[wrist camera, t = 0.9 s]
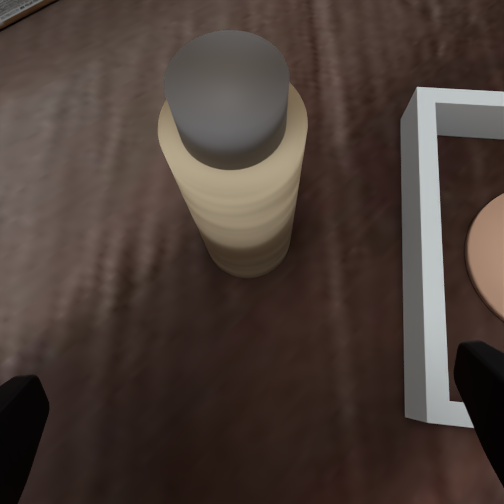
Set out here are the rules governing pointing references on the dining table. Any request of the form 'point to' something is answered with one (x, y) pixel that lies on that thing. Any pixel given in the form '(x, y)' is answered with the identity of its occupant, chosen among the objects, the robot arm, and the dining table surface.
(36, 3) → the tin
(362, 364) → the dining table surface
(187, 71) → the pepper mill
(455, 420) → the white square frame
